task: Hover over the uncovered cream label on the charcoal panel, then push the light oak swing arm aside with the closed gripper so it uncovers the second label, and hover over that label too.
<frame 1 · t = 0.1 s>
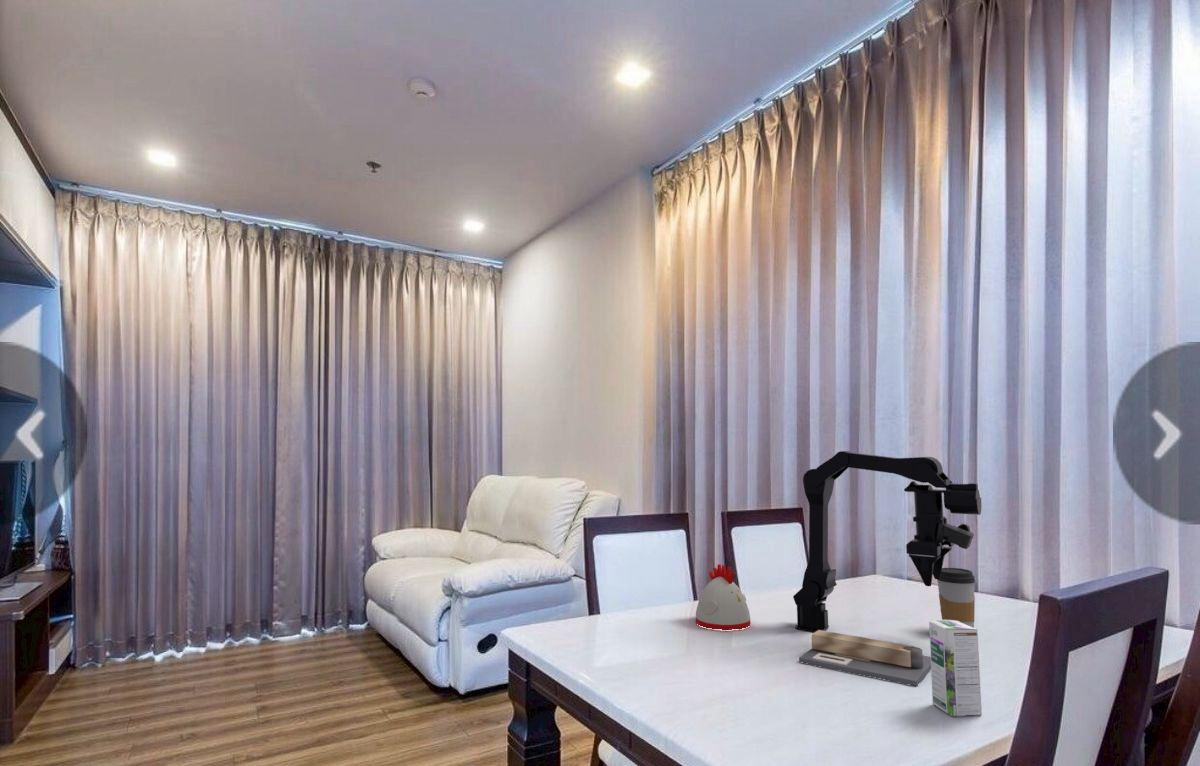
hand: (932, 582, 146), 15 cm above the table, tool pointing down, fingers open, 9 cm apart
kitchen timer: (722, 624, 168), on the table
syrup box: (957, 711, 112), on the table
label panel: (867, 662, 137), on the table
swing arm: (866, 648, 137), point 3 cm above the table, hinge at 0.0°
coffee cup: (958, 635, 156), on the table
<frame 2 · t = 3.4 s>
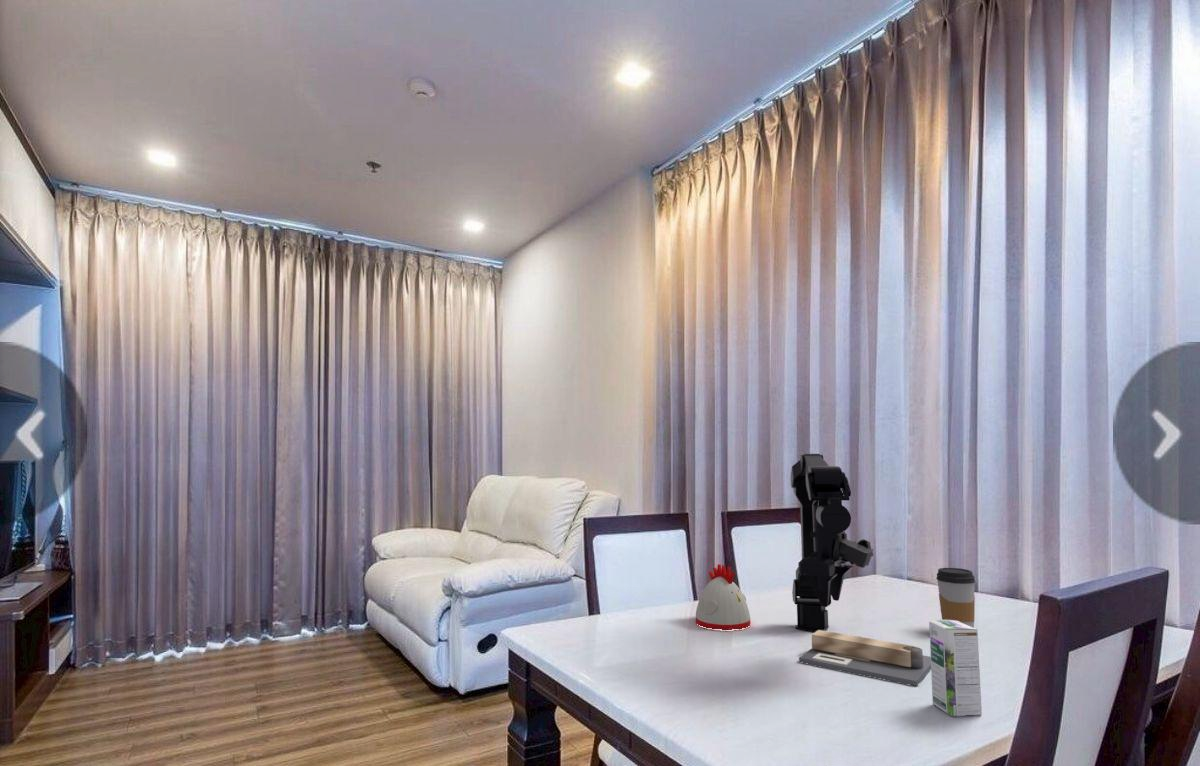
hand: (830, 603, 135), 13 cm above the table, tool pointing down, fingers open, 6 cm apart
nothing on the table moved.
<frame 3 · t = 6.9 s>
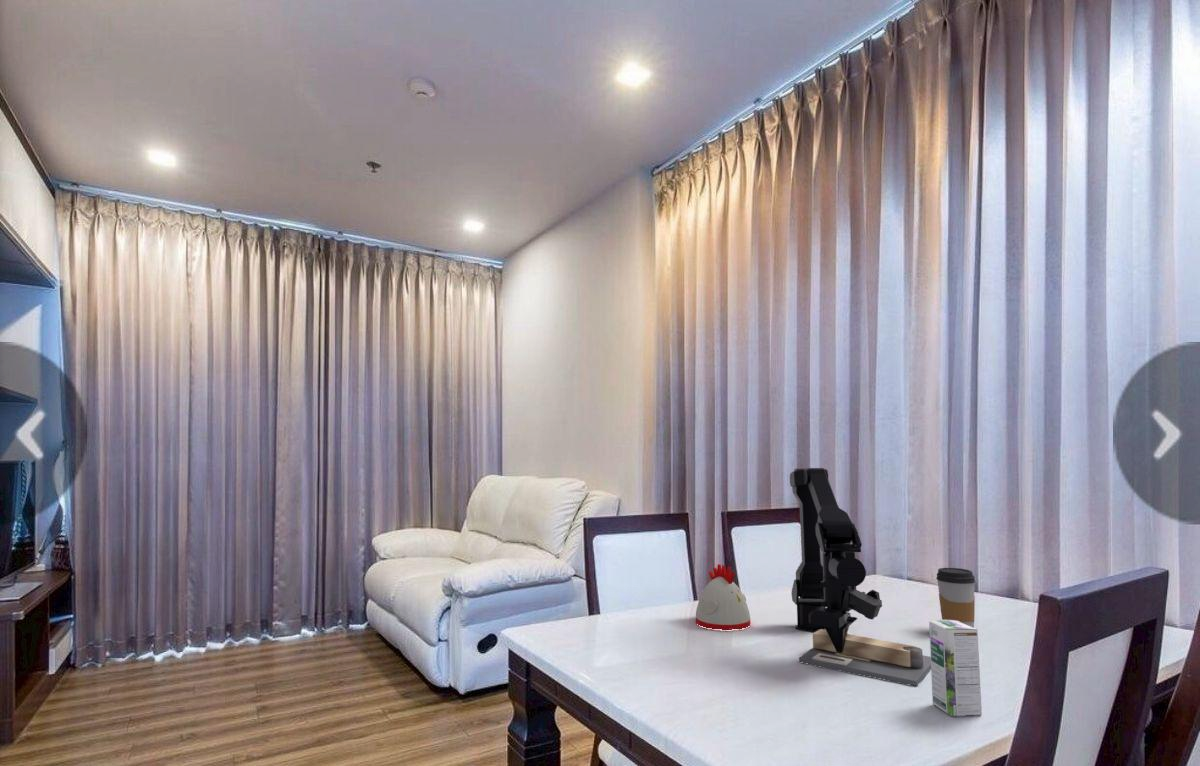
hand: (839, 652, 138), 2 cm above the table, tool pointing down, fingers closed
swing arm: (866, 648, 138), point 3 cm above the table, hinge at 2.5°, touching gripper
everything else where it was.
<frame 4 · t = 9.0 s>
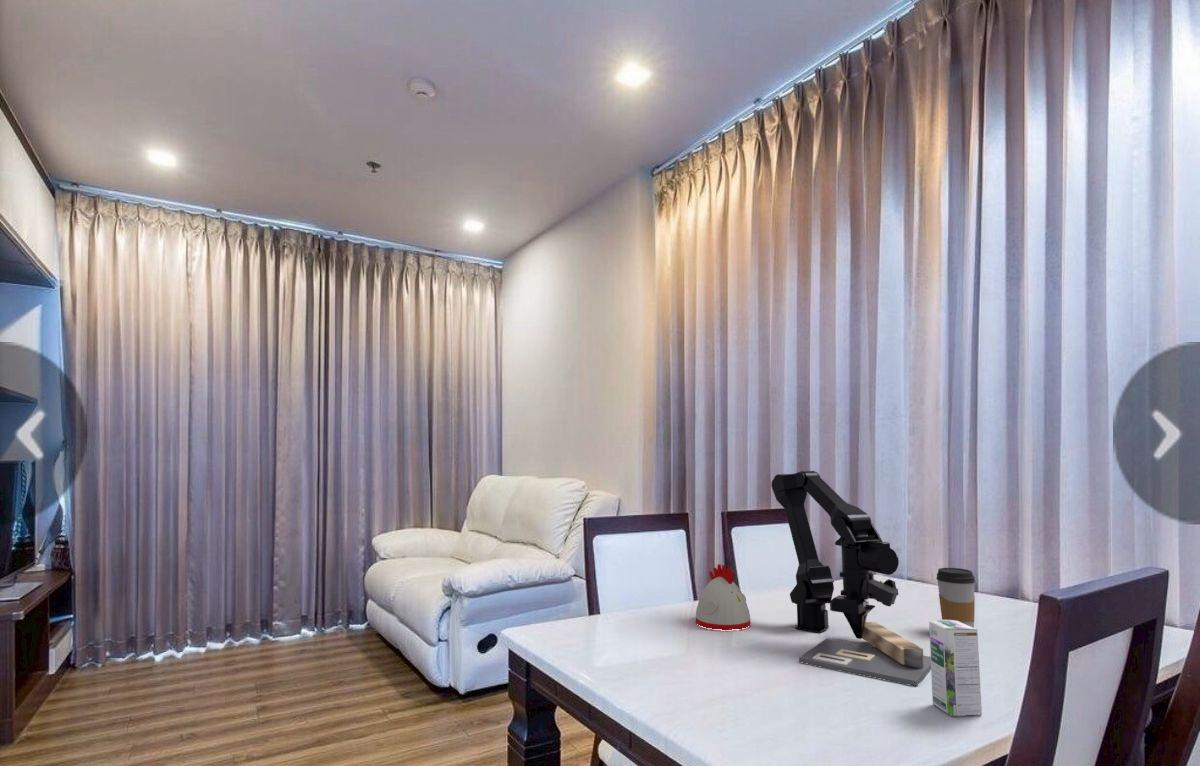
hand: (859, 638, 147), 2 cm above the table, tool pointing down, fingers closed
swing arm: (890, 643, 141), point 3 cm above the table, hinge at 48.4°
everything else where it was.
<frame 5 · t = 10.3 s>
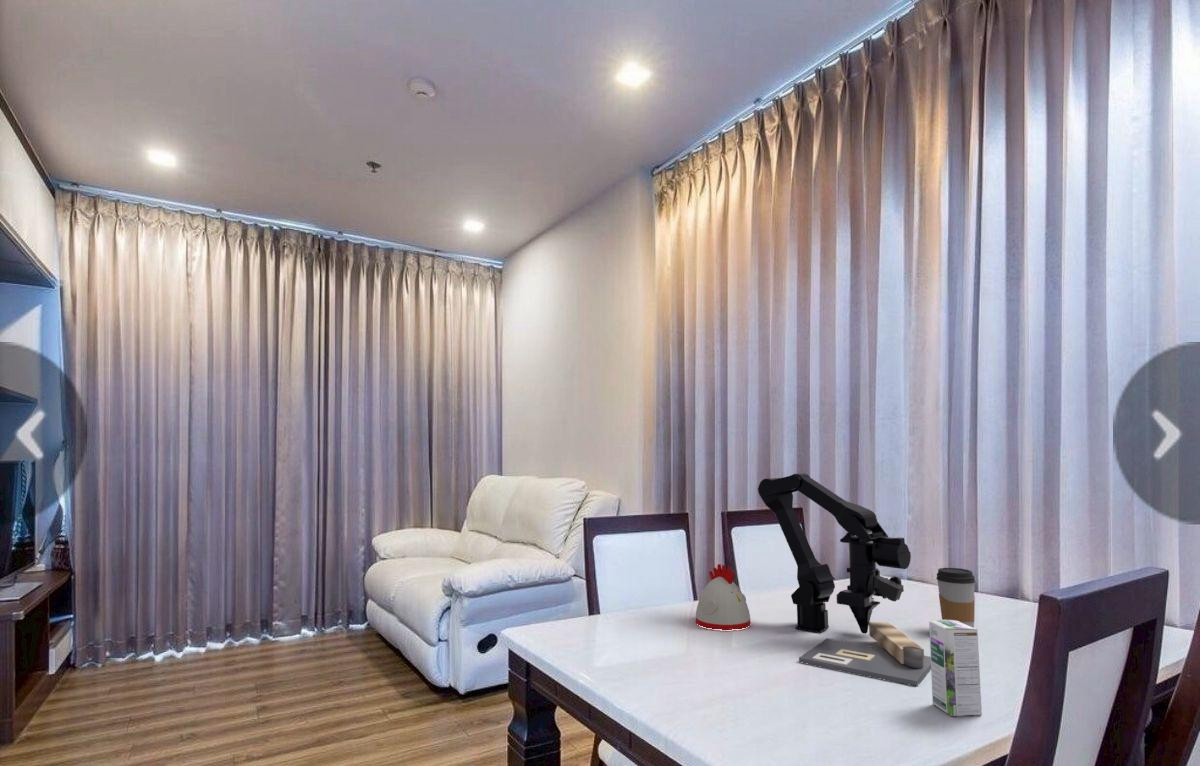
hand: (864, 633, 150), 2 cm above the table, tool pointing down, fingers closed
swing arm: (896, 643, 141), point 3 cm above the table, hinge at 56.4°, touching gripper
everything else where it was.
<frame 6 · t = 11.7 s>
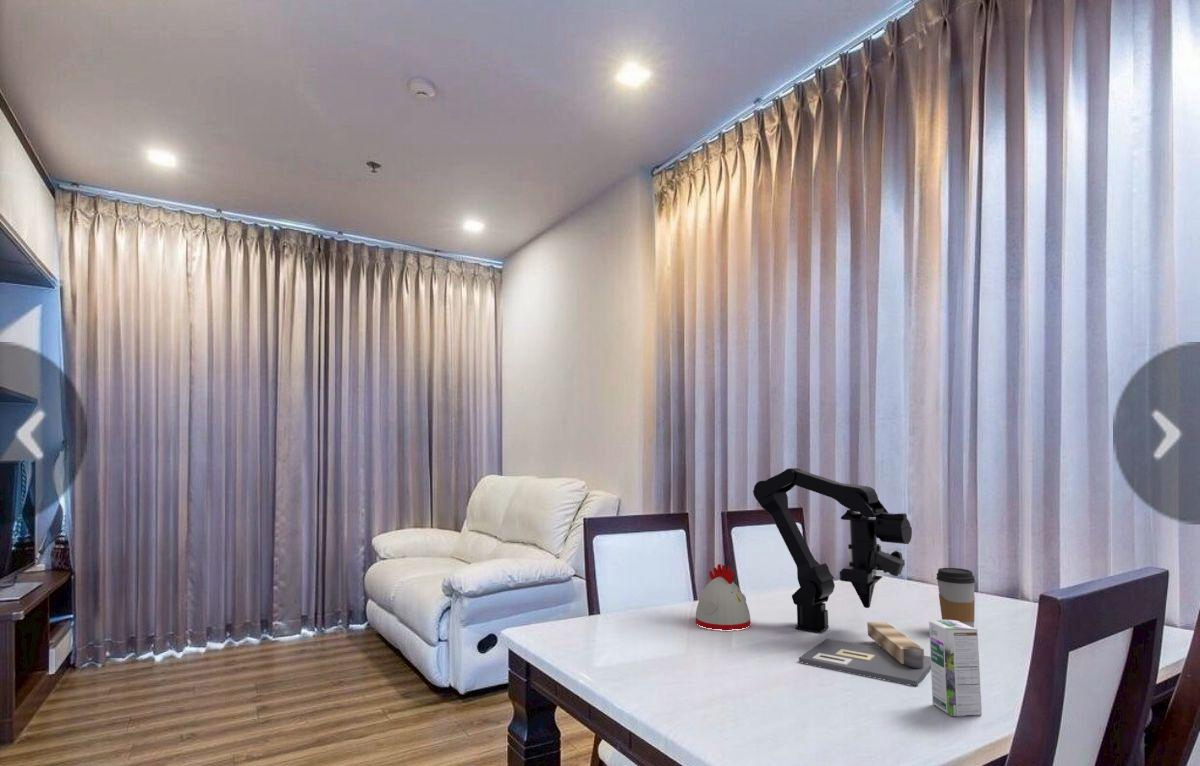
hand: (867, 607, 153), 8 cm above the table, tool pointing down, fingers closed
swing arm: (895, 643, 141), point 3 cm above the table, hinge at 55.4°
everything else where it was.
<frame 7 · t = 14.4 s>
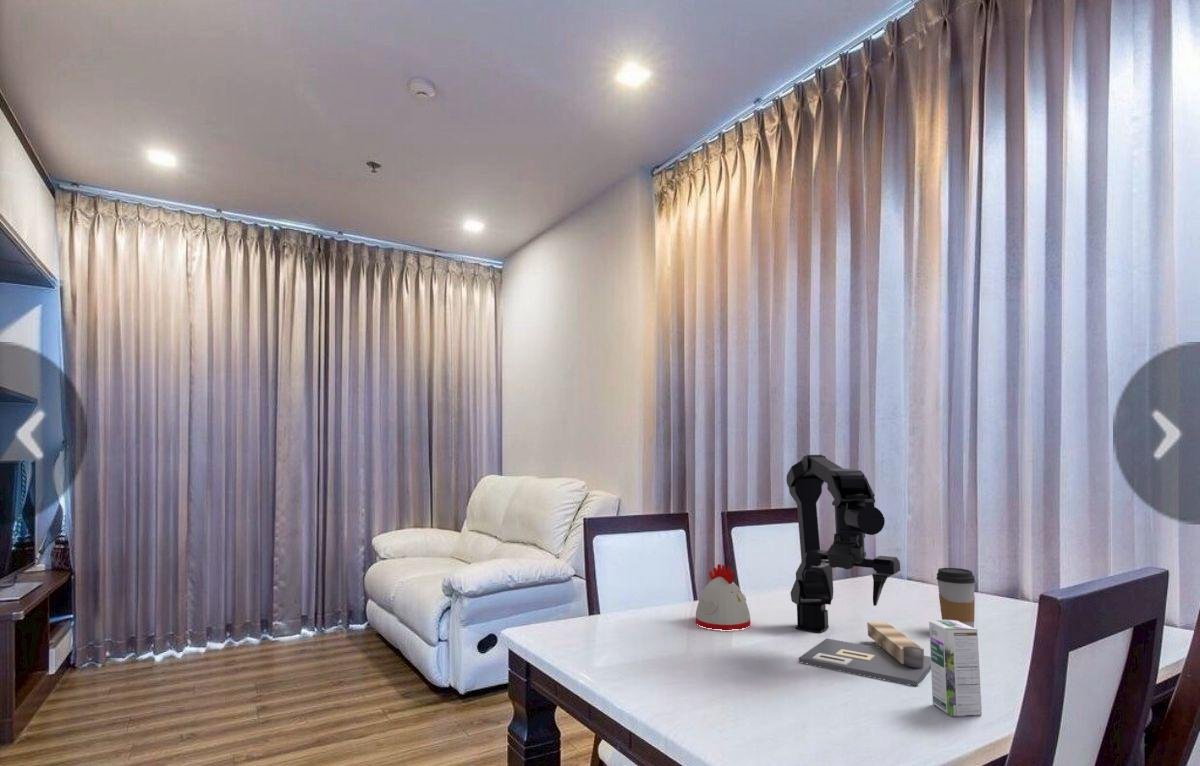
hand: (852, 602, 140), 12 cm above the table, tool pointing down, fingers open, 9 cm apart
nothing on the table moved.
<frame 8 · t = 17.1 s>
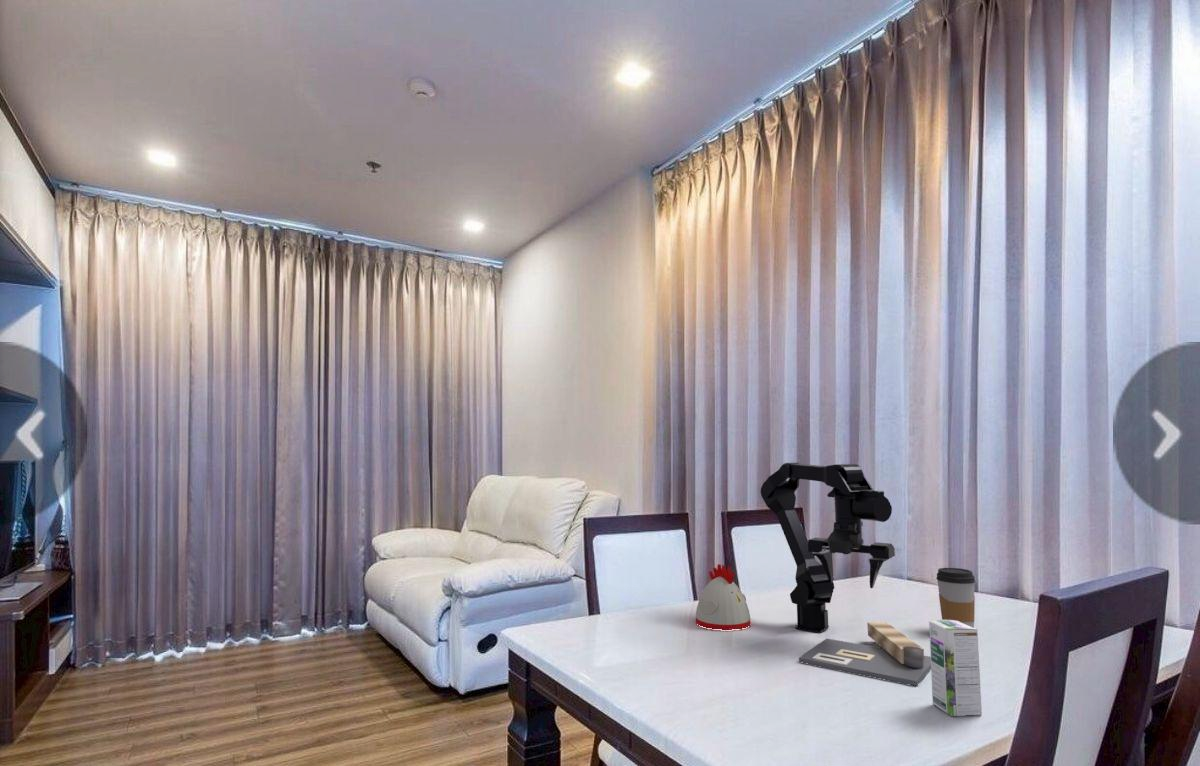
hand: (851, 585, 152), 13 cm above the table, tool pointing down, fingers open, 9 cm apart
nothing on the table moved.
at the end: swing arm at +55° (first picture: +0°) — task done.
